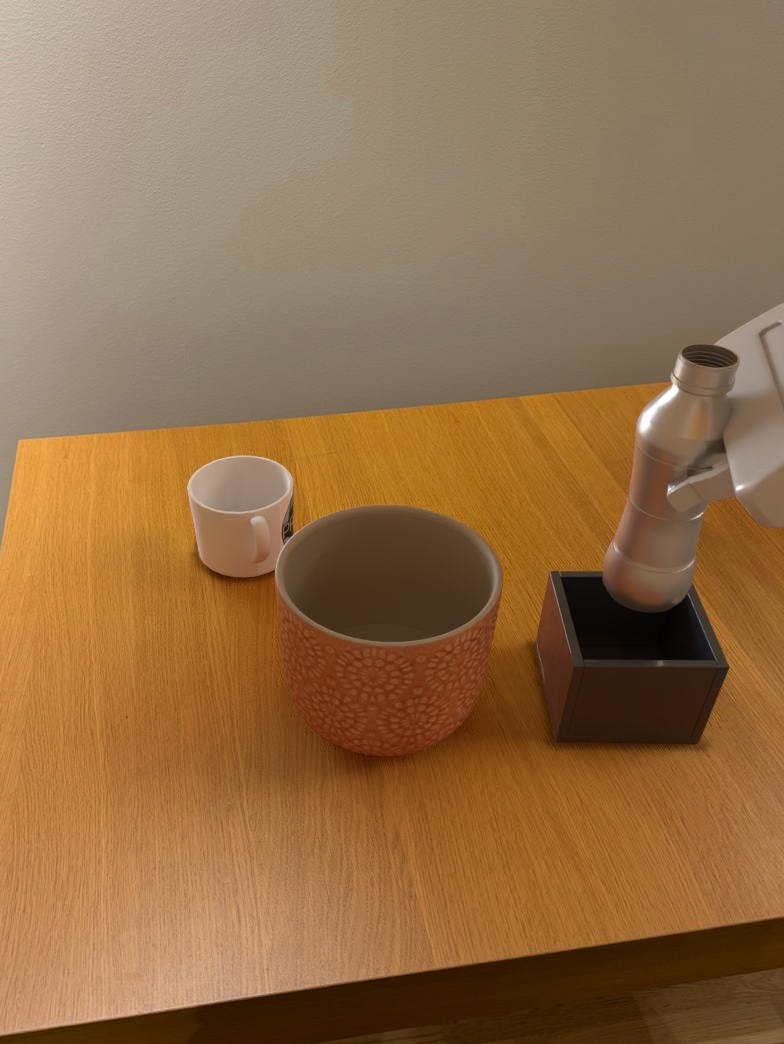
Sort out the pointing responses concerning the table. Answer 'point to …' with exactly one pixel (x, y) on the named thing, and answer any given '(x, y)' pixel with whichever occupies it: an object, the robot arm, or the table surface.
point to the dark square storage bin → (625, 665)
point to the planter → (386, 625)
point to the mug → (241, 514)
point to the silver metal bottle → (662, 456)
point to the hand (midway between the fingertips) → (667, 471)
